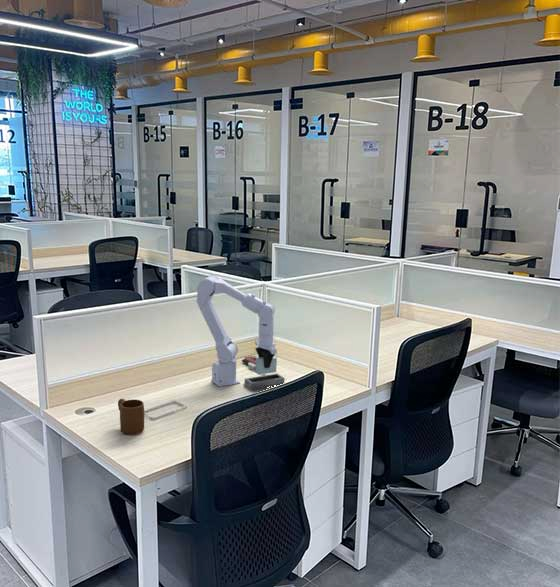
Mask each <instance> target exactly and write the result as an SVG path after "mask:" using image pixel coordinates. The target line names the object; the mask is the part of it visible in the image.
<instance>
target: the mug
mask: <svg viewBox="0 0 560 587" xmlns="http://www.w3.org/2000/svg"><path fill="white" fill-rule="evenodd" d="M144 405H145V404H144V401H143V400H141V399H126V398H125V399H124V398H120V399H118V402H117V407H118V410H119V426H120V427H119V428H120V432H121V433H122V434H123V435H127V436H136V435H139V434H141V433H143V431H144V430H145V414H144V410H145V406H144Z"/></svg>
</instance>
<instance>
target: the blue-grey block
mask: <svg viewBox="0 0 560 587" xmlns="http://www.w3.org/2000/svg"><path fill="white" fill-rule="evenodd" d="M277 360H278V358H277V357H276V356H274V357H273V359H272V362H271V365H270V368H265V367H264V359H263V357H260V358H256V365H255V370H254V372H255V373H256V374H257V375H259V376H260V375H268V374H275V373H277V362H278V361H277Z"/></svg>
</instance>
